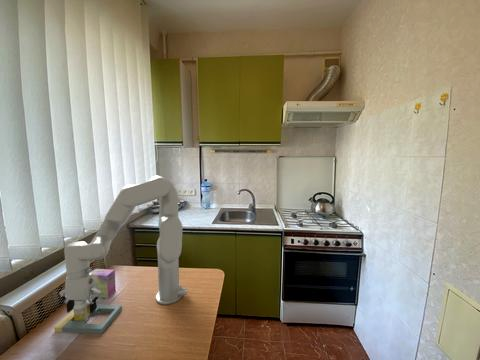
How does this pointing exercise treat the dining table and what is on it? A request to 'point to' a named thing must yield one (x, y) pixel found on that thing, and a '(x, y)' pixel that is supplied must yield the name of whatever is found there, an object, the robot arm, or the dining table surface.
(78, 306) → the supplement bottle
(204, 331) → the dining table surface
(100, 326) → the keyhole board
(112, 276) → the box
